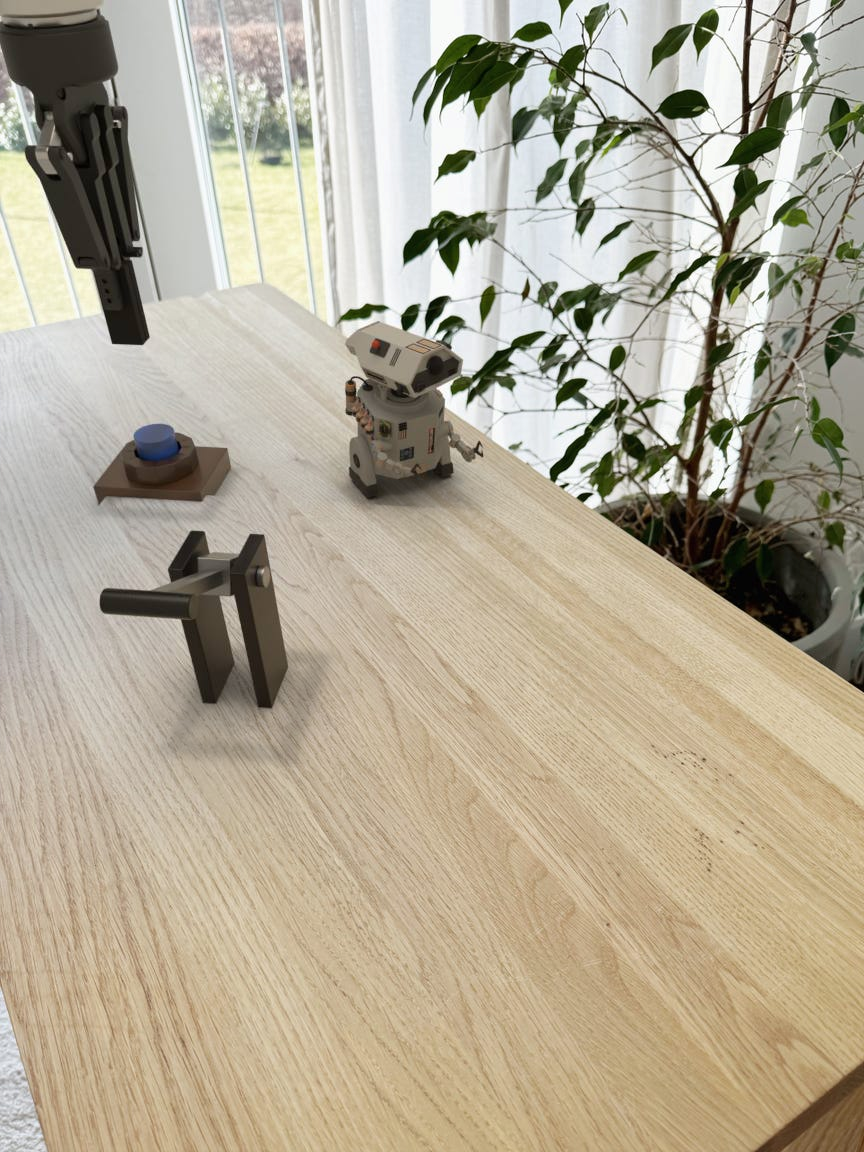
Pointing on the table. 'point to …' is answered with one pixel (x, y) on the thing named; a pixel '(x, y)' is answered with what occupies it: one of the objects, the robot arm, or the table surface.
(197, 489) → the switch block
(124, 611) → the lever
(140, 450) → the button
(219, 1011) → the table surface
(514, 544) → the table surface
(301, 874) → the table surface
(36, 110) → the robot arm
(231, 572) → the lever bracket
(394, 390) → the figurine
